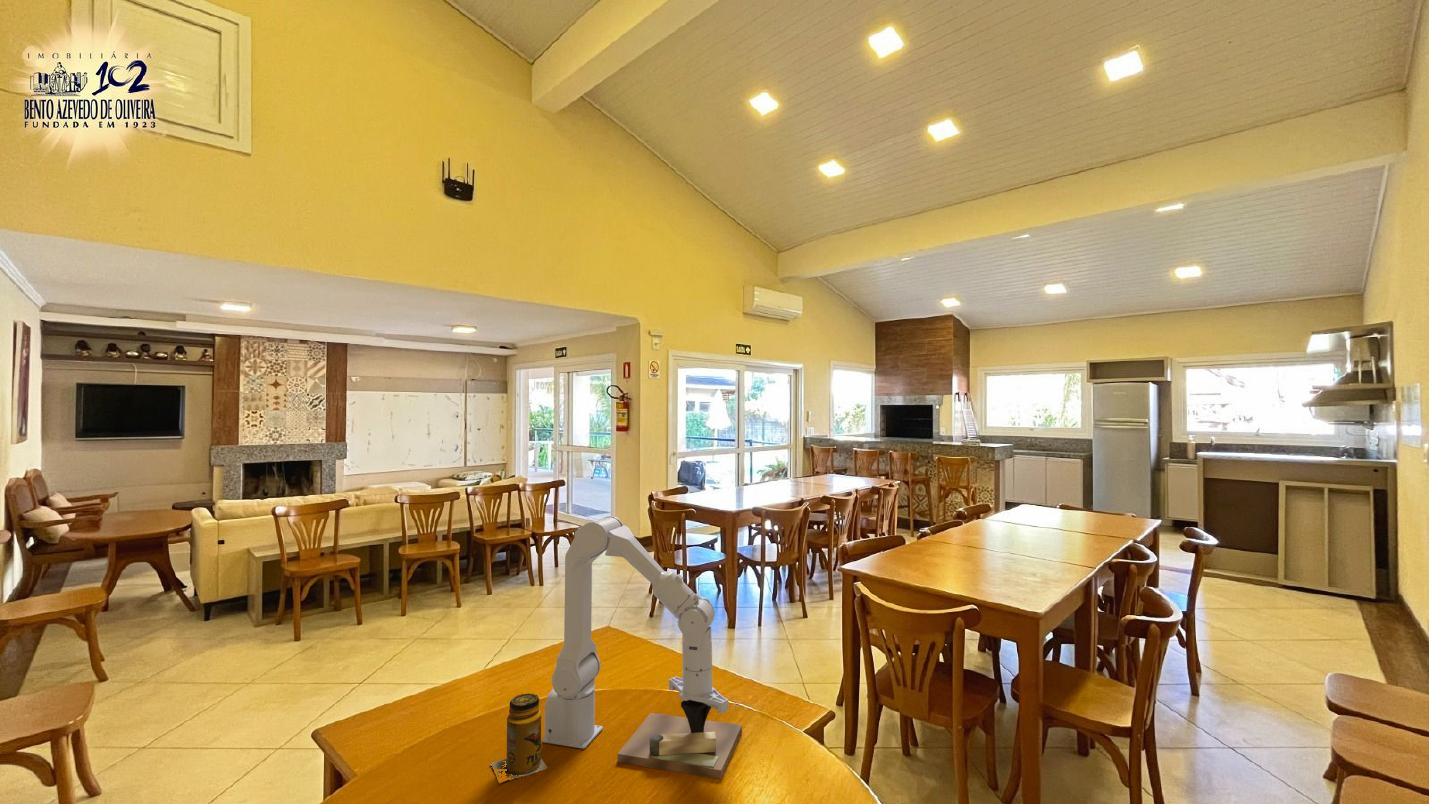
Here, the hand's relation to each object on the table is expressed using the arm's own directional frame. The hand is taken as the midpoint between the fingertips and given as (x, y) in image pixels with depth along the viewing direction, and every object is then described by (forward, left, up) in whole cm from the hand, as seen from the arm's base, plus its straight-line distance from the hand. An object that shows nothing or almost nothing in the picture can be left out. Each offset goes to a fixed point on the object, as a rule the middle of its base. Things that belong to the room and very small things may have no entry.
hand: (697, 738), depth 106 cm
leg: (-2, -3, -1) cm, 4 cm away
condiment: (-30, -13, -3) cm, 33 cm away
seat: (-3, +1, -3) cm, 4 cm away
